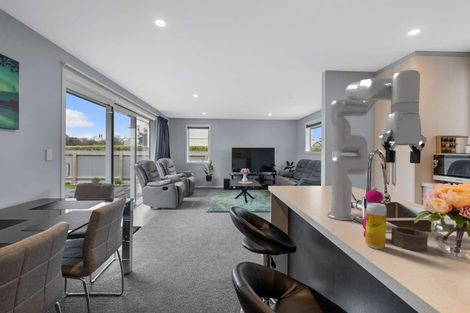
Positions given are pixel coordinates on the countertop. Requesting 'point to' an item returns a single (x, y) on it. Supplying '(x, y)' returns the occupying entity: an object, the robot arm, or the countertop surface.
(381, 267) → the countertop surface
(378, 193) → the pepper mill
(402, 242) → the socket
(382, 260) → the countertop surface
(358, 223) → the countertop surface
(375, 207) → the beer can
